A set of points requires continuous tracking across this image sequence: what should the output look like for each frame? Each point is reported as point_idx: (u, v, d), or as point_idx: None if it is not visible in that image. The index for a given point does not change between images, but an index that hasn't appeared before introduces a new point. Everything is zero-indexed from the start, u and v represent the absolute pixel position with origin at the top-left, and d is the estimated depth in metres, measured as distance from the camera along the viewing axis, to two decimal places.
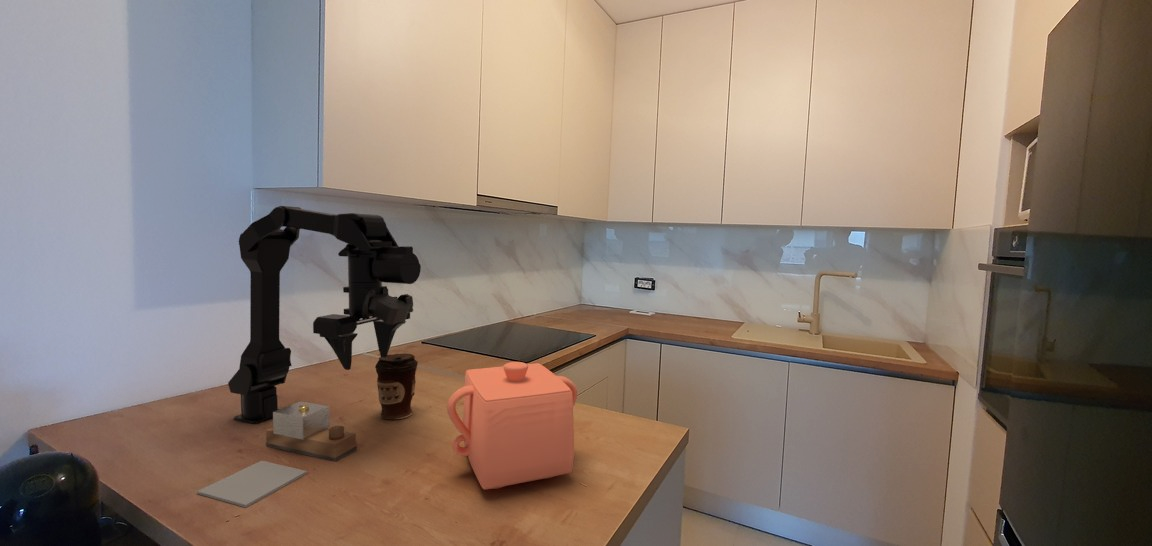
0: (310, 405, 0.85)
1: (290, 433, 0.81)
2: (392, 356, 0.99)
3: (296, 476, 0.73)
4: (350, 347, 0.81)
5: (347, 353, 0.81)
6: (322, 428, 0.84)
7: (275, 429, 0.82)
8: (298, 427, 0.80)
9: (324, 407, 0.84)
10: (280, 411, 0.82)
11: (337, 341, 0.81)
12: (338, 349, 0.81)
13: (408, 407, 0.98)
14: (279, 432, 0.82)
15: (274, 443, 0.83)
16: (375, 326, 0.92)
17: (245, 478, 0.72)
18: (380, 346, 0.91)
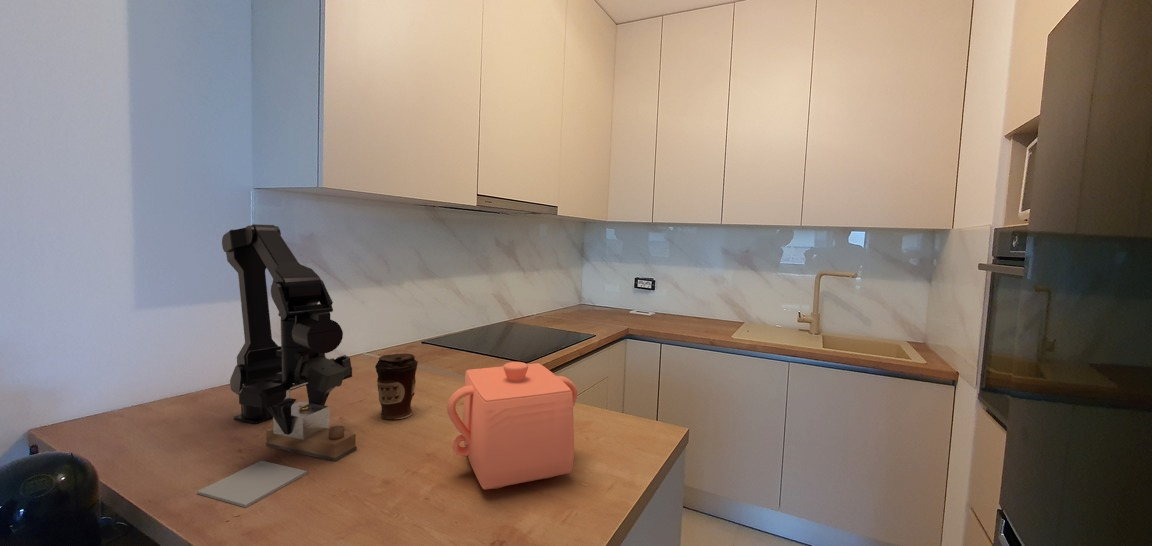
0: (310, 405, 0.85)
1: (290, 433, 0.81)
2: (392, 356, 0.99)
3: (296, 476, 0.73)
4: (289, 412, 0.79)
5: (286, 419, 0.79)
6: (322, 428, 0.84)
7: (275, 429, 0.82)
8: (298, 427, 0.80)
9: (324, 407, 0.84)
10: None
11: (276, 406, 0.79)
12: (277, 414, 0.79)
13: (408, 407, 0.98)
14: (279, 432, 0.82)
15: (274, 443, 0.83)
16: (307, 388, 0.87)
17: (245, 478, 0.72)
18: None
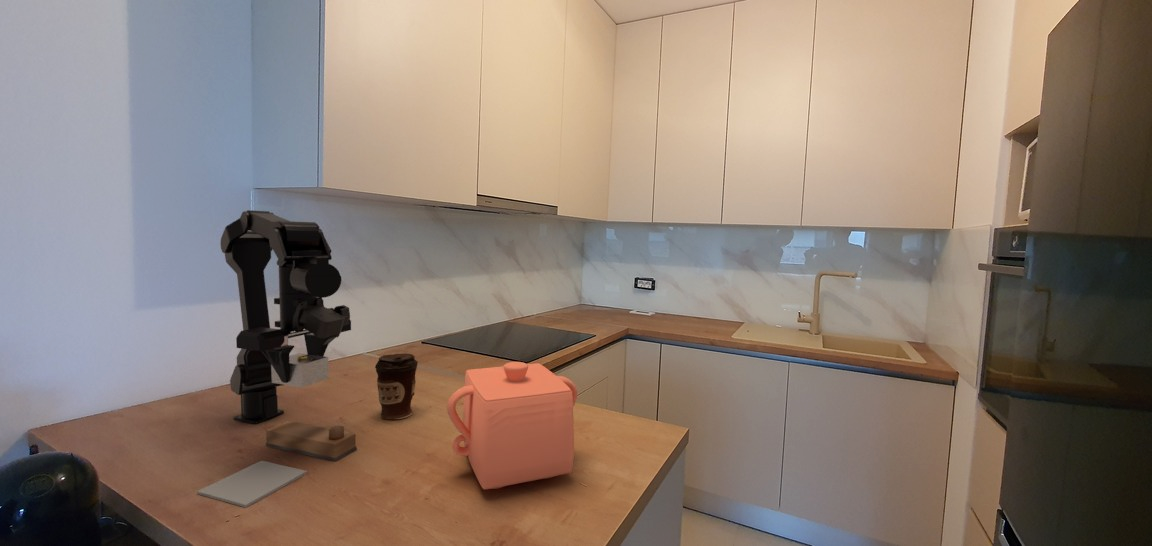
0: (309, 356, 0.84)
1: None
2: (392, 356, 0.99)
3: (296, 476, 0.73)
4: (287, 359, 0.79)
5: (284, 366, 0.78)
6: (321, 378, 0.83)
7: (273, 378, 0.81)
8: (297, 375, 0.79)
9: (323, 357, 0.83)
10: None
11: (274, 353, 0.78)
12: (275, 362, 0.79)
13: (408, 407, 0.98)
14: (277, 381, 0.81)
15: (274, 443, 0.83)
16: (306, 340, 0.86)
17: (245, 478, 0.72)
18: None
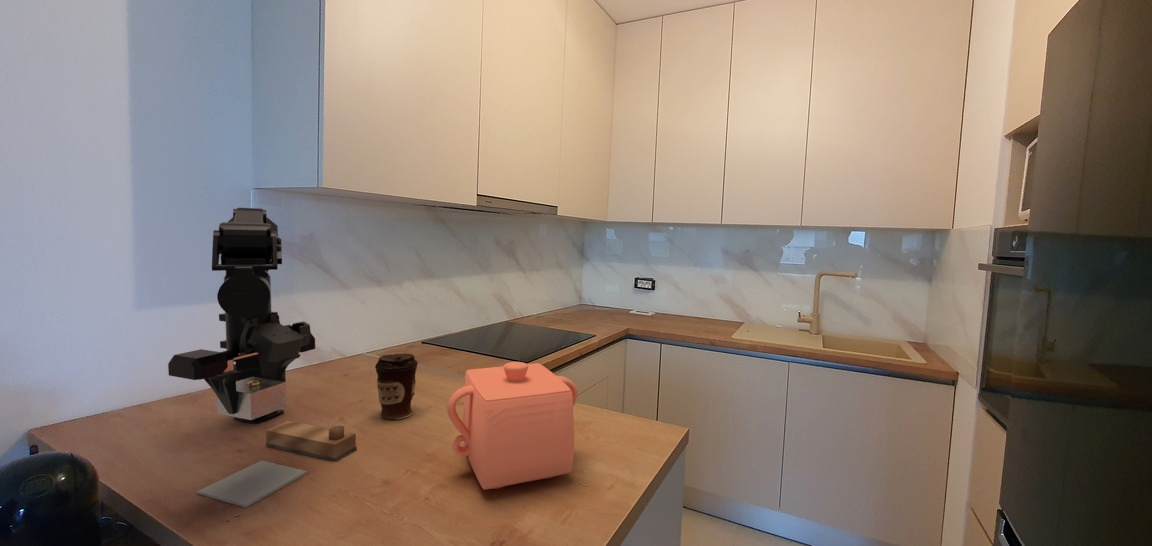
0: (263, 381, 0.72)
1: (236, 413, 0.67)
2: (392, 356, 0.99)
3: (296, 476, 0.73)
4: (233, 387, 0.66)
5: (229, 395, 0.66)
6: (276, 407, 0.70)
7: (219, 408, 0.69)
8: (245, 406, 0.67)
9: (279, 383, 0.71)
10: None
11: (217, 380, 0.66)
12: (219, 390, 0.66)
13: (408, 407, 0.98)
14: (224, 412, 0.68)
15: (274, 443, 0.83)
16: (261, 361, 0.74)
17: (245, 478, 0.72)
18: None
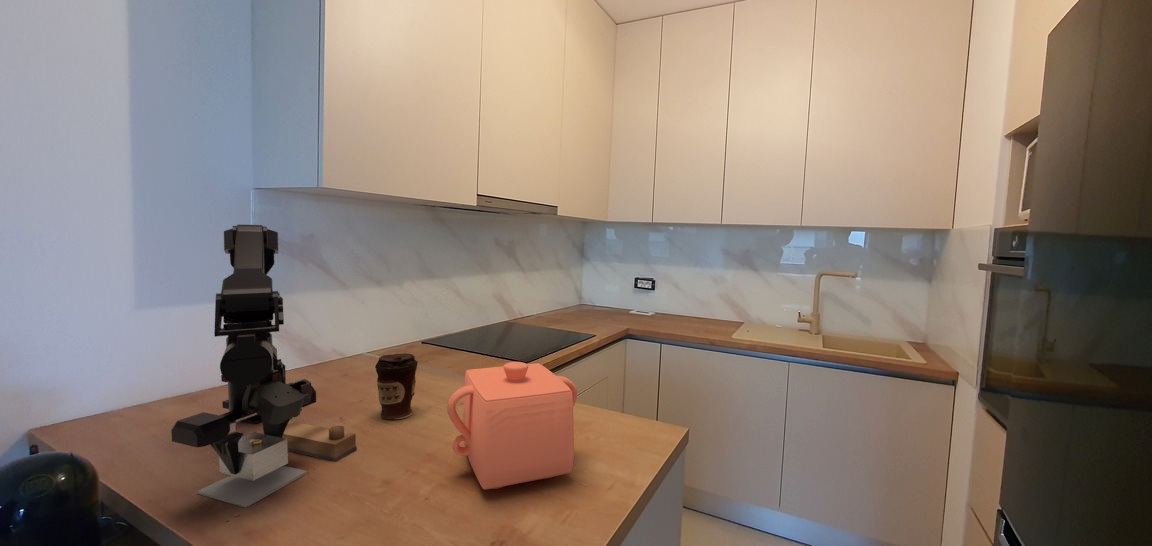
0: (265, 437, 0.73)
1: (238, 472, 0.68)
2: (392, 356, 0.99)
3: (296, 476, 0.73)
4: (235, 449, 0.67)
5: (231, 456, 0.67)
6: (278, 465, 0.71)
7: (221, 467, 0.69)
8: (247, 466, 0.68)
9: (281, 440, 0.72)
10: None
11: None
12: (221, 451, 0.67)
13: (408, 407, 0.98)
14: (226, 471, 0.69)
15: None
16: (262, 417, 0.75)
17: None
18: None
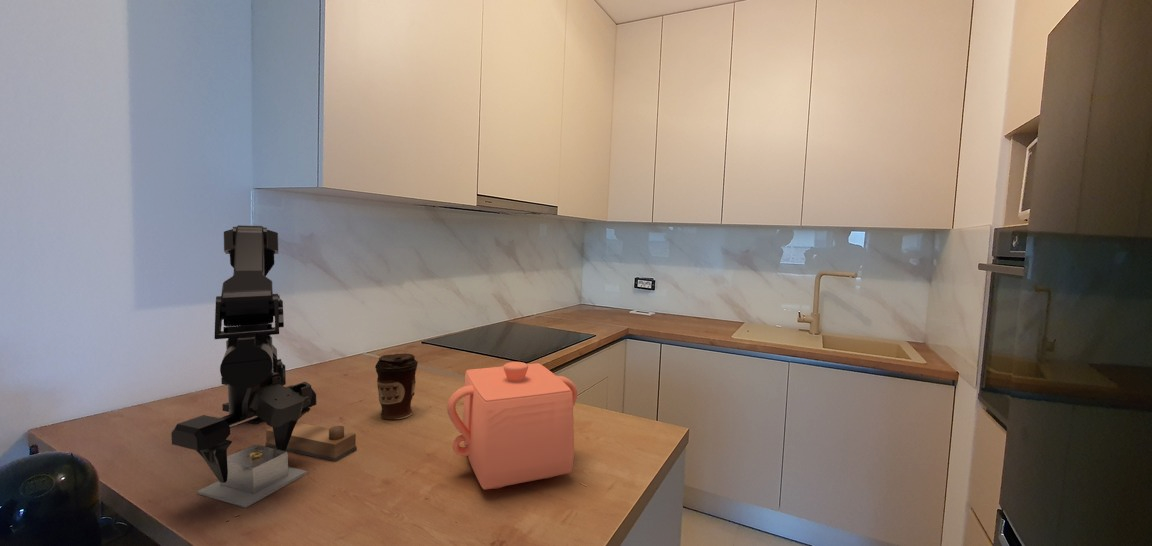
0: (265, 450, 0.73)
1: (239, 486, 0.68)
2: (392, 356, 0.99)
3: (296, 476, 0.73)
4: (224, 456, 0.65)
5: (220, 464, 0.65)
6: (278, 478, 0.71)
7: None
8: (248, 480, 0.68)
9: (281, 453, 0.72)
10: (228, 459, 0.70)
11: None
12: (209, 459, 0.65)
13: (408, 407, 0.98)
14: (226, 484, 0.69)
15: (274, 443, 0.83)
16: None
17: None
18: (277, 441, 0.75)
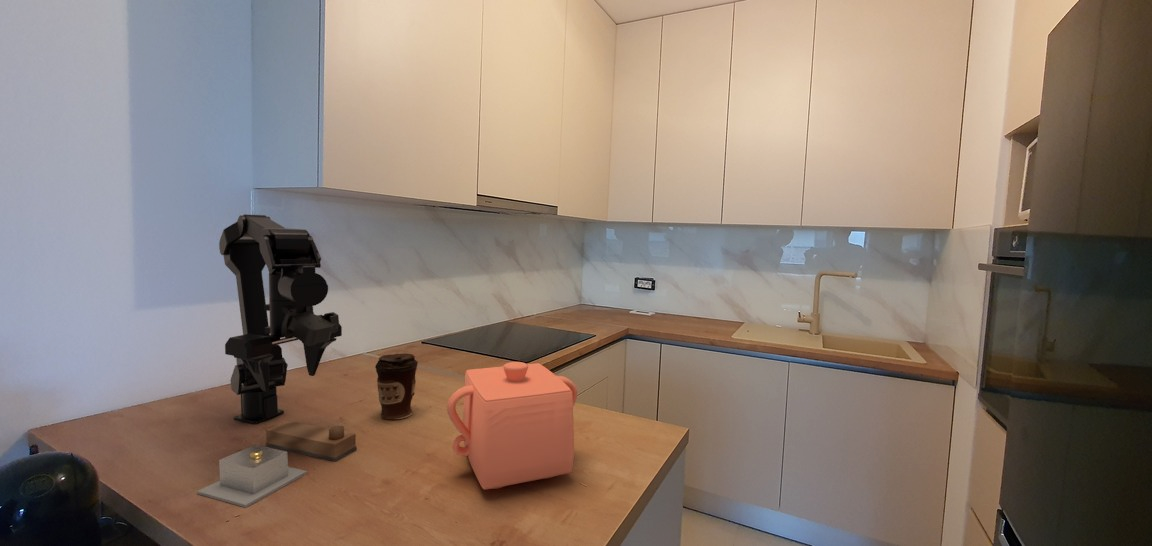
0: (265, 450, 0.73)
1: (239, 486, 0.68)
2: (392, 356, 0.99)
3: (296, 476, 0.73)
4: (267, 368, 0.78)
5: (263, 374, 0.78)
6: (278, 478, 0.71)
7: (222, 480, 0.69)
8: (248, 480, 0.68)
9: (281, 453, 0.72)
10: (228, 459, 0.70)
11: (253, 362, 0.78)
12: (254, 370, 0.78)
13: (408, 407, 0.98)
14: (226, 484, 0.69)
15: (274, 443, 0.83)
16: (304, 343, 0.89)
17: None
18: (308, 364, 0.88)
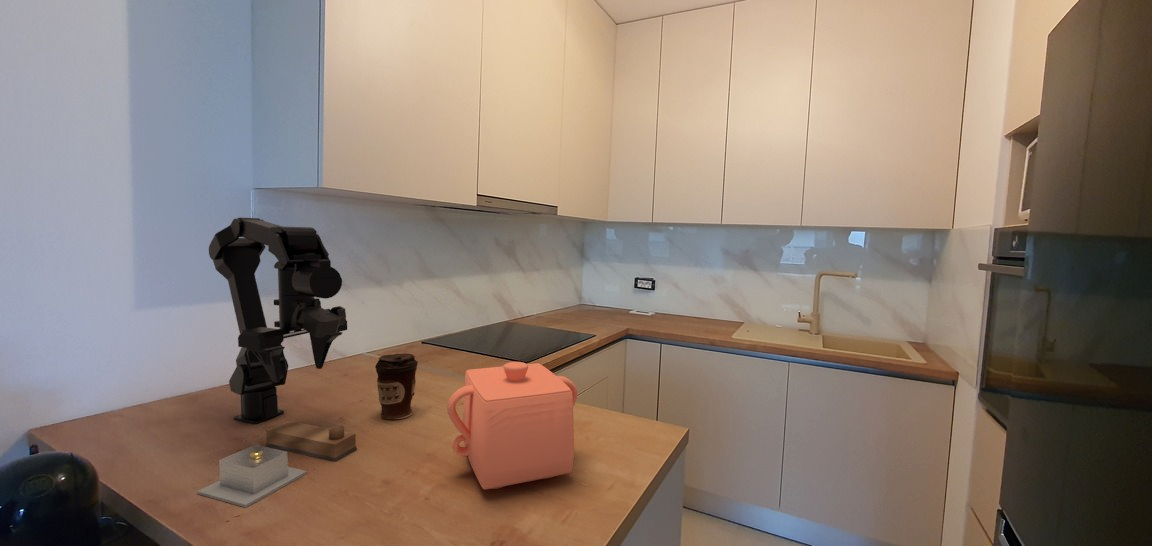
0: (265, 450, 0.73)
1: (239, 486, 0.68)
2: (392, 356, 0.99)
3: (296, 476, 0.73)
4: (278, 360, 0.81)
5: (275, 366, 0.81)
6: (278, 478, 0.71)
7: (222, 480, 0.69)
8: (248, 480, 0.68)
9: (281, 453, 0.72)
10: (228, 459, 0.70)
11: (265, 354, 0.81)
12: (266, 362, 0.81)
13: (408, 407, 0.98)
14: (226, 484, 0.69)
15: (274, 443, 0.83)
16: (311, 338, 0.92)
17: None
18: (315, 358, 0.91)
